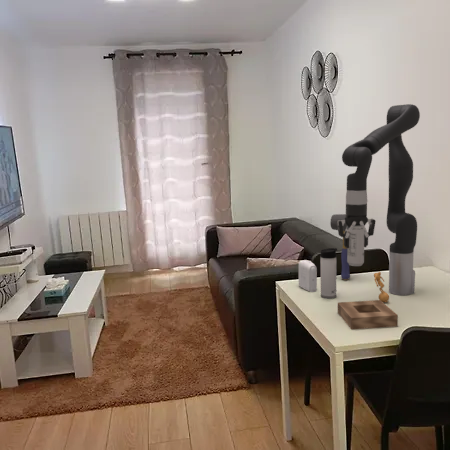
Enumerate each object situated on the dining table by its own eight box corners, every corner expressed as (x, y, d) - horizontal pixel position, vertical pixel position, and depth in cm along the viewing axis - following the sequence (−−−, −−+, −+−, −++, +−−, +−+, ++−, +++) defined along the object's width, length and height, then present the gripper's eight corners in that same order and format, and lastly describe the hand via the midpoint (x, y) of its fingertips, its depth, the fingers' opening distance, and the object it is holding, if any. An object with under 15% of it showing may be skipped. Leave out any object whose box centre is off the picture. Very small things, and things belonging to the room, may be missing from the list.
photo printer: (318, 291, 209) (318, 262, 207) (309, 292, 207) (309, 264, 205) (305, 284, 218) (305, 257, 216) (297, 286, 217) (296, 258, 215)
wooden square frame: (379, 310, 184) (380, 299, 183) (397, 326, 168) (397, 315, 167) (337, 312, 183) (337, 302, 182) (351, 329, 167) (351, 318, 166)
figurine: (386, 306, 188) (386, 275, 186) (370, 303, 191) (370, 273, 189) (391, 299, 195) (392, 270, 192) (376, 297, 198) (377, 268, 196)
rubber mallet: (329, 280, 224) (329, 215, 218) (334, 276, 230) (334, 212, 225) (357, 283, 217) (357, 216, 212) (361, 278, 224) (362, 213, 219)
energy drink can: (366, 265, 181) (367, 225, 179) (351, 267, 180) (352, 226, 178) (359, 261, 187) (359, 223, 184) (344, 263, 186) (344, 224, 183)
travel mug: (337, 299, 198) (337, 250, 194) (320, 298, 199) (320, 250, 196) (337, 294, 204) (337, 247, 200) (320, 293, 205) (320, 246, 202)
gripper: (372, 200, 184) (371, 244, 186) (334, 201, 183) (333, 246, 186) (379, 202, 176) (378, 248, 179) (339, 204, 175) (339, 250, 178)
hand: (355, 247), depth 182 cm, fingers closed on energy drink can, 6 cm apart
